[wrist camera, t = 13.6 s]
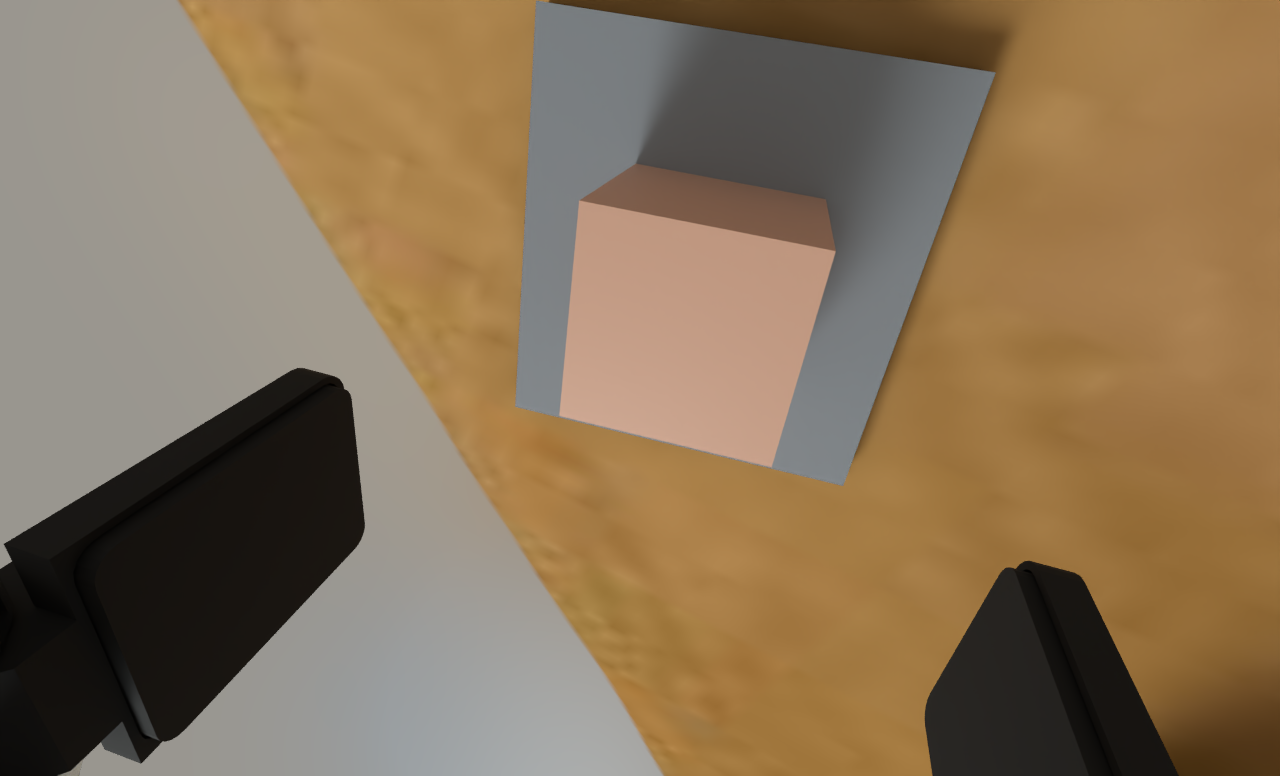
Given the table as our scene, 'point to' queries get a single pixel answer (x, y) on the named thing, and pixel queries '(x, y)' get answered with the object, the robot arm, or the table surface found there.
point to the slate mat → (748, 183)
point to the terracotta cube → (693, 309)
